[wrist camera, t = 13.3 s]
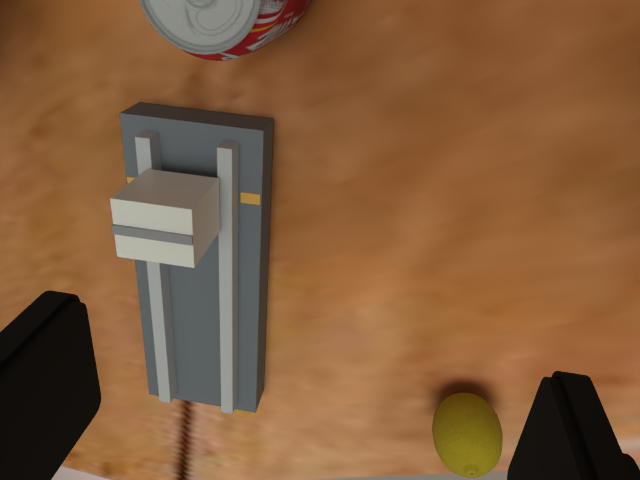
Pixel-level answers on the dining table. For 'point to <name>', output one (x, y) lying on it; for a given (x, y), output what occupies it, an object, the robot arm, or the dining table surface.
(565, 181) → the dining table surface
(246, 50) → the soda can
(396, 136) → the dining table surface
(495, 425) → the lemon
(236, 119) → the slider panel
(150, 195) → the fader cap
